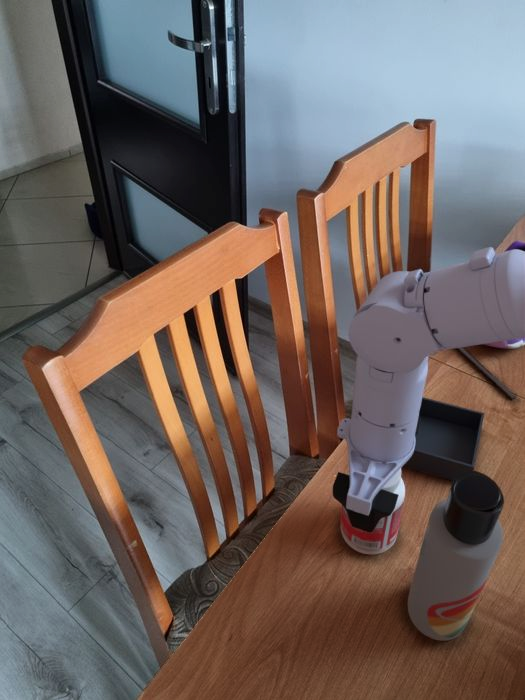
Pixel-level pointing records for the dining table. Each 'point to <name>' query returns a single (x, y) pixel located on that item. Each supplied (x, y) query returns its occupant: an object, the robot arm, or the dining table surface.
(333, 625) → the dining table surface
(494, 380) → the rod
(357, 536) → the pill bottle
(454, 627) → the black capped bottle
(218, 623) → the dining table surface
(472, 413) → the box
